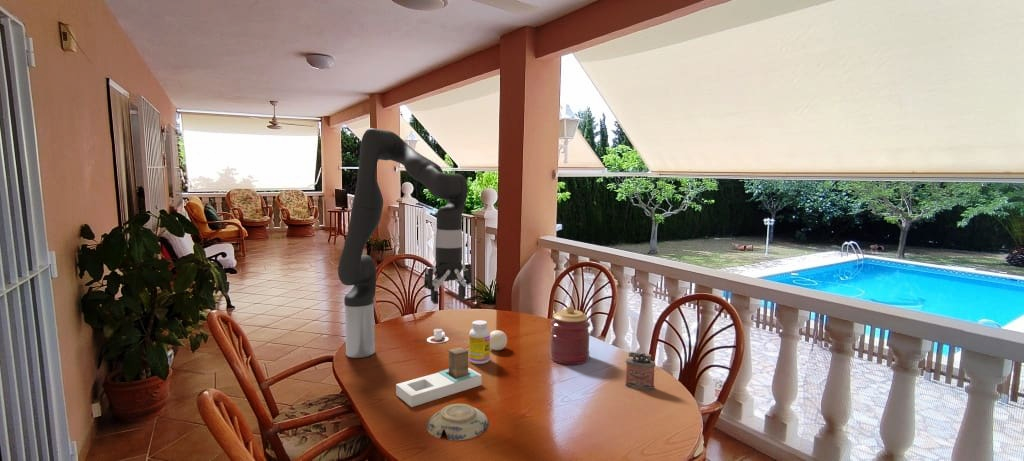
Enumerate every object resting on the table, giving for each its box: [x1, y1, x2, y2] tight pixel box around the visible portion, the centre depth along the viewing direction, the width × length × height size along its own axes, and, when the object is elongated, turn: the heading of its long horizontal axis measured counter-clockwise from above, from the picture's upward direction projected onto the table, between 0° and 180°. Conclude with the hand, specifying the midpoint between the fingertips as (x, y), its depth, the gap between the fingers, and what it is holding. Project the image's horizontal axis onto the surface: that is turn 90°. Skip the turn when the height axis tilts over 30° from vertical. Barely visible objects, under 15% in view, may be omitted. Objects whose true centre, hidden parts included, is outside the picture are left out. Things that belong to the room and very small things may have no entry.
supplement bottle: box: [468, 319, 491, 365], centre depth 154 cm, size 7×7×13 cm
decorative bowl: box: [426, 403, 490, 441], centre depth 115 cm, size 15×4×15 cm
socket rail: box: [395, 367, 483, 408], centre depth 133 cm, size 9×22×3 cm, turn 128°
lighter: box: [624, 351, 656, 391], centre depth 135 cm, size 8×3×10 cm, turn 71°
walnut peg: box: [448, 346, 469, 379], centre depth 136 cm, size 4×4×10 cm
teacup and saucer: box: [426, 328, 449, 344], centre depth 175 cm, size 9×8×4 cm
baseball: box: [490, 329, 508, 351], centre depth 165 cm, size 7×7×7 cm
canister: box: [549, 305, 591, 365], centre depth 157 cm, size 13×13×18 cm
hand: (448, 301), depth 136 cm, fingers open, 8 cm apart
